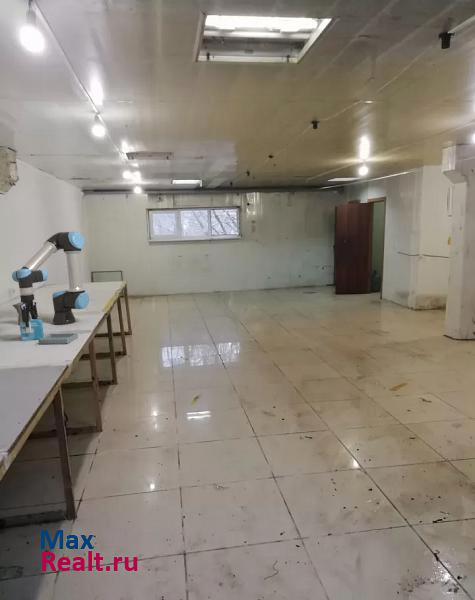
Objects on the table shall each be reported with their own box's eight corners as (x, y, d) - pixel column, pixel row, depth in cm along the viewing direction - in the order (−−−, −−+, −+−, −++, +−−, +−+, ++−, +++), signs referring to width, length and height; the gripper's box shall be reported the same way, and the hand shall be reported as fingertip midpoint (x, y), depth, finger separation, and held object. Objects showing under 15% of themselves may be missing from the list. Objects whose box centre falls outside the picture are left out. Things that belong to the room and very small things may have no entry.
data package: (21, 341, 261) (19, 322, 258) (23, 339, 265) (21, 320, 263) (42, 339, 263) (39, 320, 261) (44, 337, 267) (41, 318, 265)
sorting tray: (50, 338, 264) (50, 333, 263) (77, 337, 262) (77, 333, 261) (38, 344, 250) (38, 339, 250) (67, 344, 249) (66, 339, 248)
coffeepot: (15, 326, 302) (11, 301, 299) (14, 324, 310) (11, 300, 307) (39, 323, 310) (35, 298, 307) (37, 320, 318) (34, 297, 315)
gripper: (29, 291, 268) (34, 327, 272) (11, 297, 250) (17, 334, 254) (41, 291, 268) (45, 327, 272) (23, 296, 249) (29, 334, 253)
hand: (31, 330), depth 263 cm, fingers closed on data package, 6 cm apart
